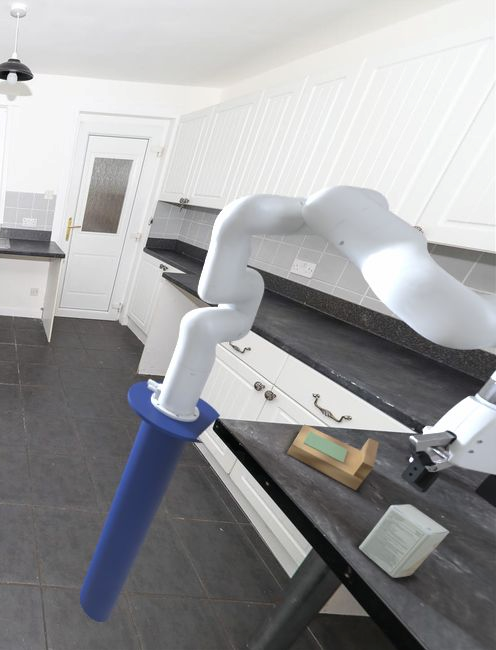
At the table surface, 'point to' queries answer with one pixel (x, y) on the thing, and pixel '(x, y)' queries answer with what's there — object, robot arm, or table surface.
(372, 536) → the box
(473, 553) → the table surface
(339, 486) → the table surface
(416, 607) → the table surface
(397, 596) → the table surface
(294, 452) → the wooden sharpening stone holder
